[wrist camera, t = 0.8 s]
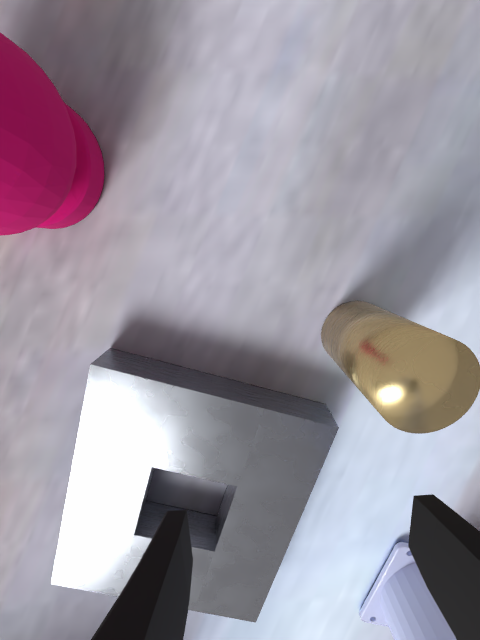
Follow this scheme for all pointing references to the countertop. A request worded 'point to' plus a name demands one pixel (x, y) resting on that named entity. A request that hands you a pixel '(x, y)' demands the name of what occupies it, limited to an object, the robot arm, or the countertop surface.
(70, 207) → the pepper mill
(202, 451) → the plate
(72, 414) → the countertop surface
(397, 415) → the brass cylinder
